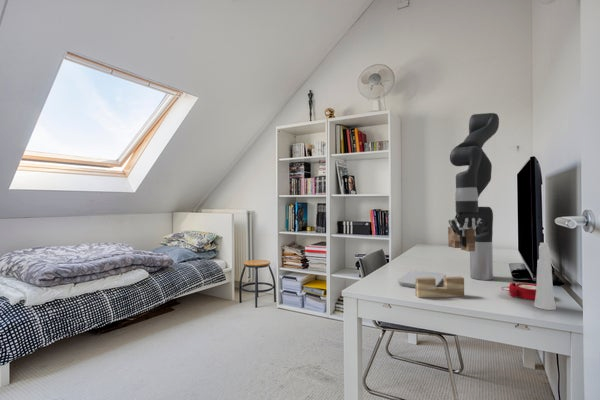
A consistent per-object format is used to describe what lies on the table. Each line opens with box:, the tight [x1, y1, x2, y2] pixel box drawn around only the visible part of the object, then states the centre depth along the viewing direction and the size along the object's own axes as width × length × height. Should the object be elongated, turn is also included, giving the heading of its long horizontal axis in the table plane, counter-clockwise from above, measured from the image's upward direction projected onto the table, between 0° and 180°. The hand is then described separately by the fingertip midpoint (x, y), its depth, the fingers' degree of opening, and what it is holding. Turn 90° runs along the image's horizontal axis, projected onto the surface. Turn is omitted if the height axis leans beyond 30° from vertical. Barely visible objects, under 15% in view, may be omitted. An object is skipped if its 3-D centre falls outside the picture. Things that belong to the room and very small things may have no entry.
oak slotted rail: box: [415, 275, 465, 299], centre depth 125 cm, size 2×18×7 cm, turn 92°
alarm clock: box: [501, 282, 537, 301], centre depth 123 cm, size 10×6×15 cm
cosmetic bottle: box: [533, 242, 557, 311], centre depth 110 cm, size 6×6×22 cm
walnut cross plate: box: [447, 226, 475, 252], centre depth 125 cm, size 14×2×8 cm, turn 4°
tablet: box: [397, 269, 447, 289], centre depth 146 cm, size 16×26×2 cm, turn 146°
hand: (467, 246), depth 120 cm, fingers closed on walnut cross plate, 2 cm apart
